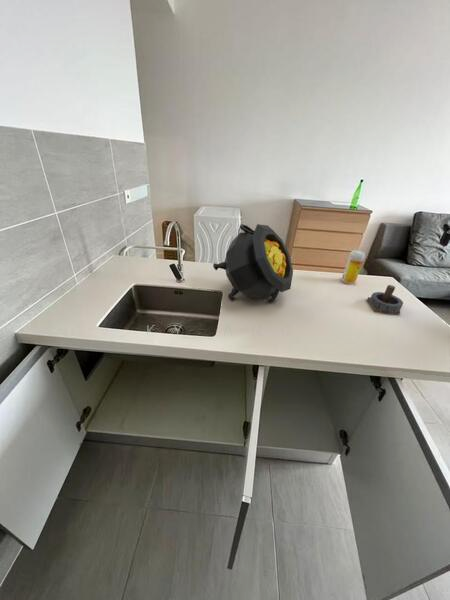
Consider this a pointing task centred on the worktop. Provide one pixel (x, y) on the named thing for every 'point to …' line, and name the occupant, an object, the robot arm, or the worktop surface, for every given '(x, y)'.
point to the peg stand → (385, 300)
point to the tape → (385, 306)
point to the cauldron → (257, 264)
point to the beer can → (353, 266)
